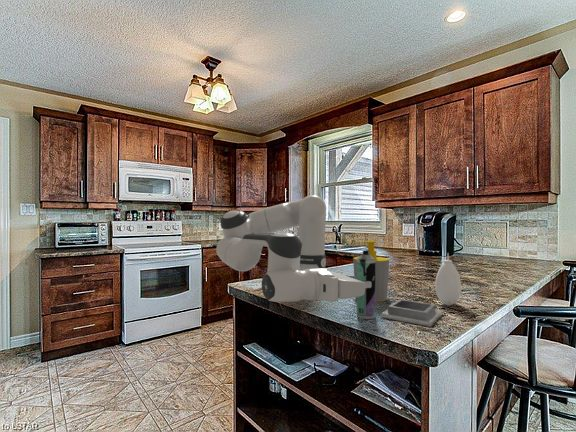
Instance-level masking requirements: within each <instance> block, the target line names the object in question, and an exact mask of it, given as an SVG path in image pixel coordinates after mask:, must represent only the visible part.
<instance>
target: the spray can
mask: <svg viewBox="0 0 576 432" xmlns="http://www.w3.org/2000/svg"><path fill="white" fill-rule="evenodd" d="M358 257H359V258H357V259H358V260H357V280H360V281H370V282H371V283H372V286H371V288H366V289H365V294H364V295H363V296H360V297H357V298H356V317H357V318H359V319H364V320H372V319H373V320H374V319H375V318H376V302H375V258H373V257H372V256H371V254H370V253H369V250H368V249H366V250H363V251H362V253H361V255H360V256H358Z"/></svg>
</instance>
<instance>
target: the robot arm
mask: <svg viewBox="0 0 576 432" xmlns="http://www.w3.org/2000/svg"><path fill="white" fill-rule="evenodd" d="M326 217H327V205H326V202H325V201H324V199H323V198H322V197H320V196H319V195H316V194H310V195H307V196H305V197H304V198H301V199H297V200H296V199H295V200H291V201H287V202H283V203H279V204H276V205H272V206H268V207H263V208H261V209H258V210H255V211H253V212H250V213H247V212H244V211H242V210H238V209H235V210H234V209H233V210H230V211H227V212H225V213H224V214H223V215H222V216H221V218H220V220H219V221H220V223H219V224H220V227H221V229H222V232H223V238H221V239H220V240H219V241H218V242H217V245H216V248H215V249H216V255H217V256H218V258H219V259H220V260H221V261H222V262H223V263H224V264H225V265H227V266H228V267H229V268H231V269H233V270H234V271H239V272H248V271H250V270H251V269H253V268H254V267H255V266H256V265H257V264H258V263H259V261H260V259H261V255H262V251H263V249H264V248H263V247H267V252H268V257H267V270H266V271H267V272H266V273H265V274H264V275H263V276H262V279H261V291H262V295H263V296H264V298H265V299H266V300H267V301H269V302H275V303H276V302H277V303H294V302H295V303H296V302H300V301H301V300H305V301H316V300H317V301H322V300H323V301H326V302H327V301H328V302H333V303H334V302H338V300H344V299H353V298H356V297H360V296H363V295H364V294H365V289H366V288H371V286H372V283H371V282H370V281H360V280H357V279H354V275H352V274H342V273H338V272H336V271H333V270H327V269H326V264H327V263H326V262H327V258H326V257H327V256H326V254H325V253H326V252H325V251H326V250H325V249H326V248H325V247H326V245H325V243H326V241H325V239H326V238H325V237H326V219H327V218H326ZM295 227H298V235H296V234H293V233H291V232H280V231H285V230H288V229H292V228H295ZM277 232H279V233H277Z"/></svg>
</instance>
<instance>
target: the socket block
mask: <svg viewBox="0 0 576 432" xmlns="http://www.w3.org/2000/svg"><path fill="white" fill-rule="evenodd" d="M436 306H437V305H436V304H435V303H429V302H428V303H427V302H423V301H422V302H420V301H415V300H407V299H401V298H399V299H397V300H396V301H394V302H392V303H391V304H389V305H388V306H387V309H385V310H384V311H382V312H381V313H380V317H381V318H384V319H389V320H395V321H399V322H403V323H404V322H405V323H408V324H409V323H410V324H414V325H419V326H420V325H421V326H425V327H432V326H433V325H434V324H435V323H436V321H438V320H439V319H440V318H441V317H442V315H443V310H439V309H437V307H436Z"/></svg>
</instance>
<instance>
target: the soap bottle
mask: <svg viewBox="0 0 576 432" xmlns="http://www.w3.org/2000/svg"><path fill="white" fill-rule="evenodd" d="M361 244H367V250H369V253H370V254H371V256H372V257H373V258H375V303H378V302H384V301H387V299H388V288H389V287H388V286H389V285H388V284H389V271H390V269H389V268H390V258H387V257H383V256H382V257H380V256H377V250H375V244H377V241H375V240H366V241H362V242H361ZM359 257H360V256H354V257H353V258H352V261H353V276H354V279H357V260H358V259H357V258H359ZM355 299H357V297H355Z"/></svg>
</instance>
